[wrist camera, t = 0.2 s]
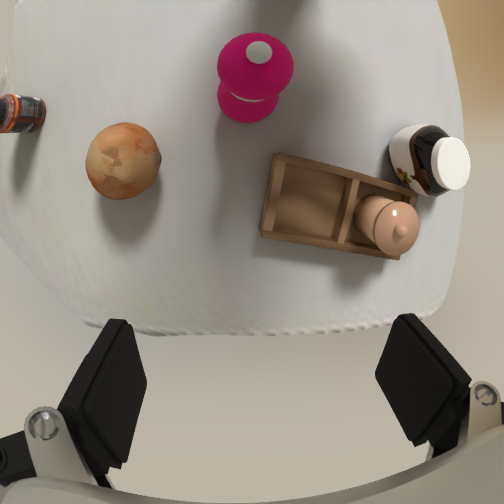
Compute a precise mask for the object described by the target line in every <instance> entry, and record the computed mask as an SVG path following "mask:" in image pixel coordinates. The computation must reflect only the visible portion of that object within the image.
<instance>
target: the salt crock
mask: <svg viewBox="0 0 504 504" xmlns="http://www.w3.org/2000/svg"><path fill="white" fill-rule="evenodd" d="M353 221H354V225H355V227H356V228H357V230H358V231H359V232H360V233H362V234H363V235H365V236H366V237H367V238H369V239H370V240H372V241H373V242H374V243H376V245H377V246H378V248H379V249H380V250H381V251H383V252H384V253H386V254H388V255H391V256H397V255H401V254H403V253H405V252H407V251H408V250H409V249H410V248H411V247H412V246H413V244H414V243H415V241H416V239H417V236H418V233H419V226H420V224H419V217H418V214H417V212H416V211H415V209H414V208H413V207H412V206H411V205H409V204H407V203H404V202H401V201H393V200H390V199H387V198H384V197H382V196H379V195H376V194H370V195H367V196H364V197H363V198H362V199H360V200H359V202H358V203H357V204H356V206H355V209H354V213H353Z"/></svg>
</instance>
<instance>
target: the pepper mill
mask: <svg viewBox="0 0 504 504" xmlns="http://www.w3.org/2000/svg"><path fill="white" fill-rule="evenodd" d="M217 70H218V75H219V78H220V80H221V82H220V85H219V88H218V93H217V98H218V103H219V105H220V107H221V109H222V111H223V112H224V113H225V114H226V115H227V116H228V117H230V118H231V119H233V120H235V121H239V122H243V123H252V122H257V121H260V120H262V119H264V118H266V117H267V116H268V115H270V114H271V112H272V111H273V110H274V108H275V106H276V104H277V101H278V93H280V92H281V91H282V90H283V89H284V88H285V87H286V86H287V85H288V83H289V81H290V79H291V77H292V74H293V60H292V56H291V54H290V52H289V50H288V49H287V47H286V46H285V45H284V44H283V43H282V42H280V41H279V40H278V39H276V38H274V37H272V36H270V35H267V34H263V33H247V34H243V35H240V36H238V37H236V38H234V39H232V40H231V41H230V42H229V43H227V44H226V45H225V47H224V48H223V49H222V51H221V53H220V55H219V58H218V63H217Z"/></svg>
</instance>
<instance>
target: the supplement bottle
mask: <svg viewBox="0 0 504 504" xmlns="http://www.w3.org/2000/svg"><path fill="white" fill-rule="evenodd" d="M44 117H45V104H44V102H43V101H42V100H41V99H39V98H35V97H28V96H21V95H13V94H6V95H4V96H2V97H1V98H0V133H19V132H33V131H35V130H36V129H38V128H39V126H40V125H41V124H42V122H43V119H44Z"/></svg>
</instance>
